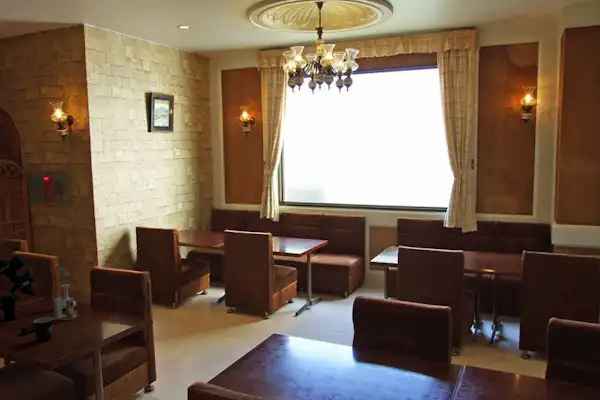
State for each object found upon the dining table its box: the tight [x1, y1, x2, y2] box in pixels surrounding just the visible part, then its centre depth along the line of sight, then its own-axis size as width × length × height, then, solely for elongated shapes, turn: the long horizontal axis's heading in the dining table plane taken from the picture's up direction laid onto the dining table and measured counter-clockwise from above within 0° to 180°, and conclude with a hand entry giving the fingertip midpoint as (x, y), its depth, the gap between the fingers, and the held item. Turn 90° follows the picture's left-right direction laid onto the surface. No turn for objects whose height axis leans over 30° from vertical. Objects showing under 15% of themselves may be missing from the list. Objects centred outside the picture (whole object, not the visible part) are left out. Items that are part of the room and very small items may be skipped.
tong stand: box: [51, 297, 78, 321], centre depth 281 cm, size 12×6×11 cm, turn 93°
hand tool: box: [20, 316, 53, 336], centre depth 264 cm, size 19×4×5 cm, turn 157°
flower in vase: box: [57, 266, 77, 310], centre depth 301 cm, size 13×11×25 cm
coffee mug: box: [33, 316, 55, 343], centre depth 249 cm, size 12×9×10 cm
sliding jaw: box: [53, 296, 63, 318], centre depth 280 cm, size 2×6×10 cm, turn 3°
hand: (34, 295), depth 279 cm, fingers closed
